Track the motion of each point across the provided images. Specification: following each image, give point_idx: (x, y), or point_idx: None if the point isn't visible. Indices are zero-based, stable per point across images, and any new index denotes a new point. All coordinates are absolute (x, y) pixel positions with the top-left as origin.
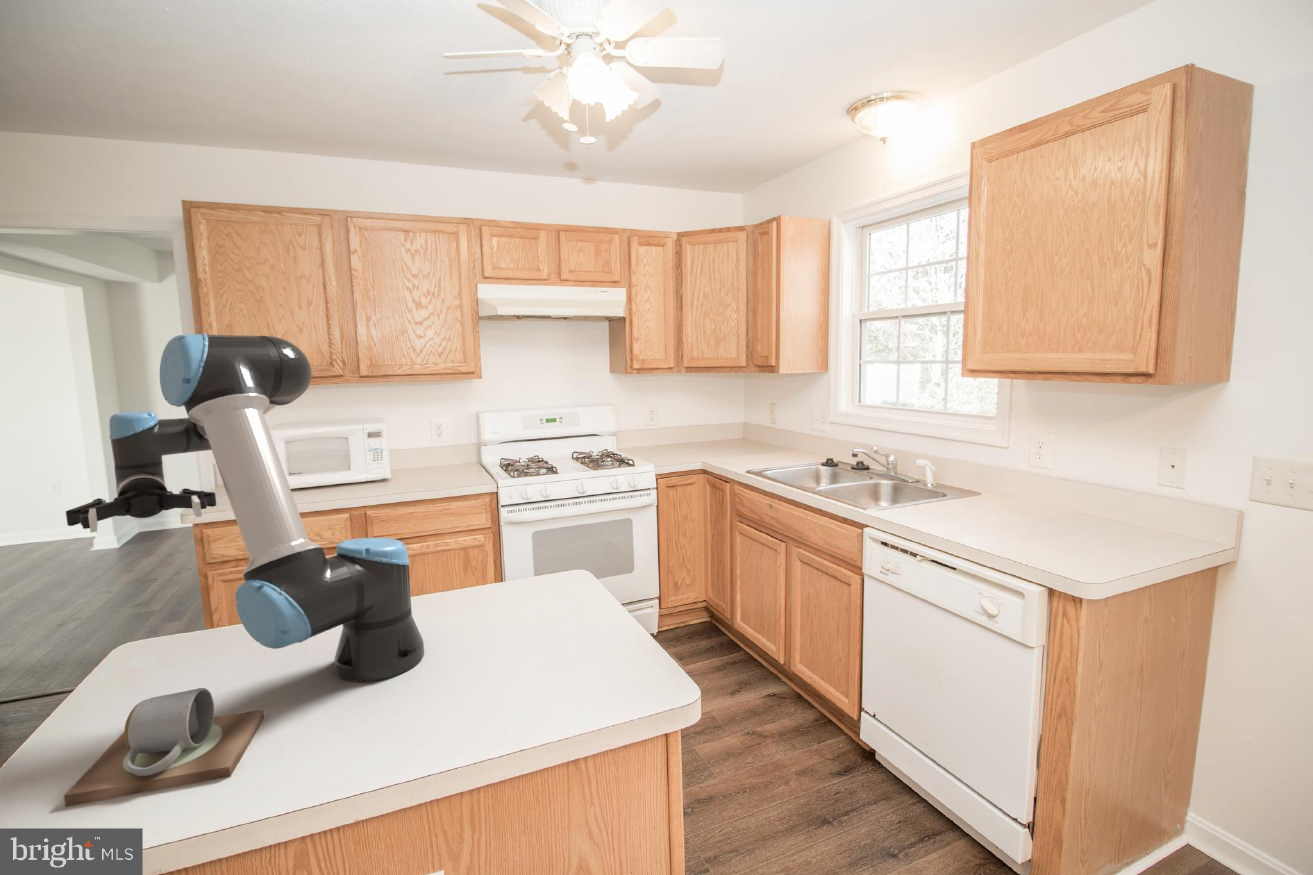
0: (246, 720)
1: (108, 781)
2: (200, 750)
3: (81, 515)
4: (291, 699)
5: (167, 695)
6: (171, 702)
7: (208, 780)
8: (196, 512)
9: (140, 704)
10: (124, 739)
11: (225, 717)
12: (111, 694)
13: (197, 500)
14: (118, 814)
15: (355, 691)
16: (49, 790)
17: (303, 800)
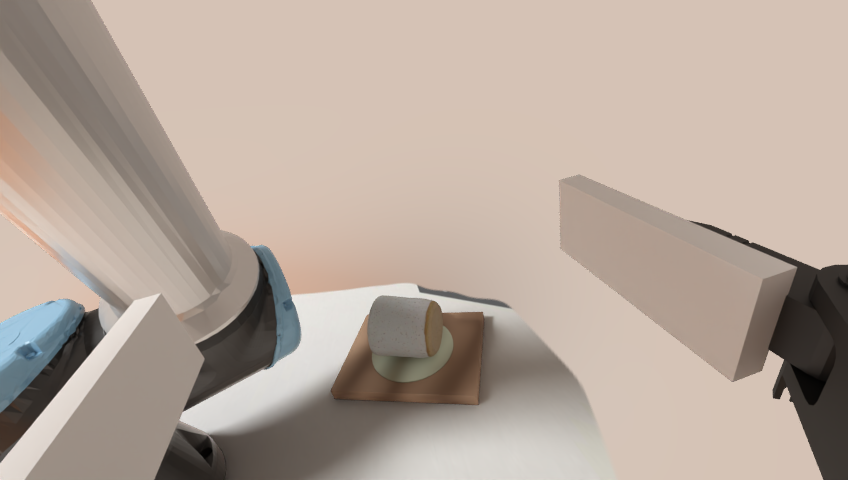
0: (349, 373)
1: (454, 319)
2: None
3: (747, 244)
4: (298, 433)
5: (401, 308)
6: (396, 298)
7: None
8: (188, 342)
9: (425, 304)
10: (468, 377)
11: (369, 386)
12: None
13: (122, 324)
14: (439, 305)
15: (232, 423)
16: (512, 341)
17: (329, 293)
